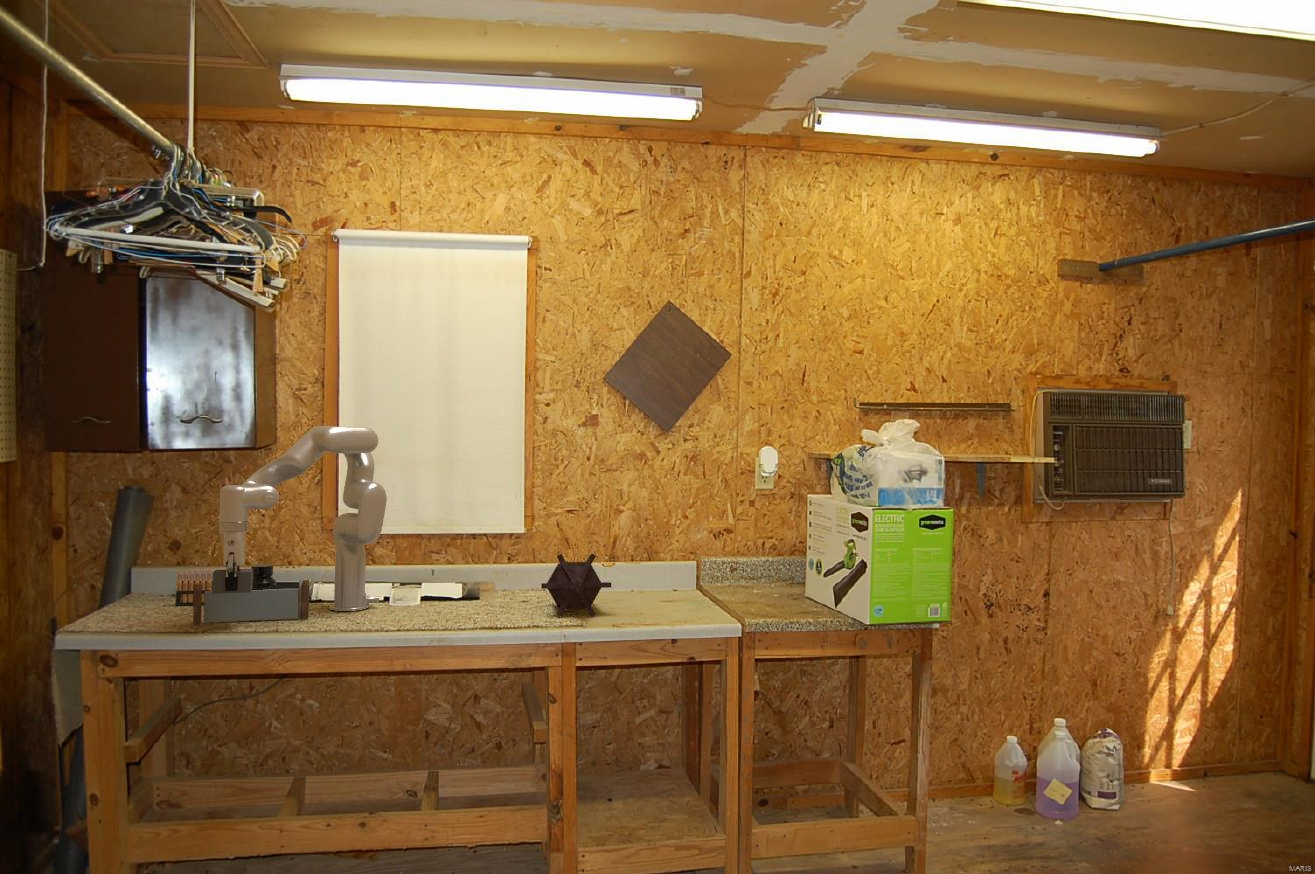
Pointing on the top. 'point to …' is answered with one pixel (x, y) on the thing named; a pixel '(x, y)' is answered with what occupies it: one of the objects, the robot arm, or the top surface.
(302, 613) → the door frame
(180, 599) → the ammunition clip
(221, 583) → the doorstop block
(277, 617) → the door
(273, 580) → the ink bottle
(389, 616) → the top surface
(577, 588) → the black spiked polyhedron
